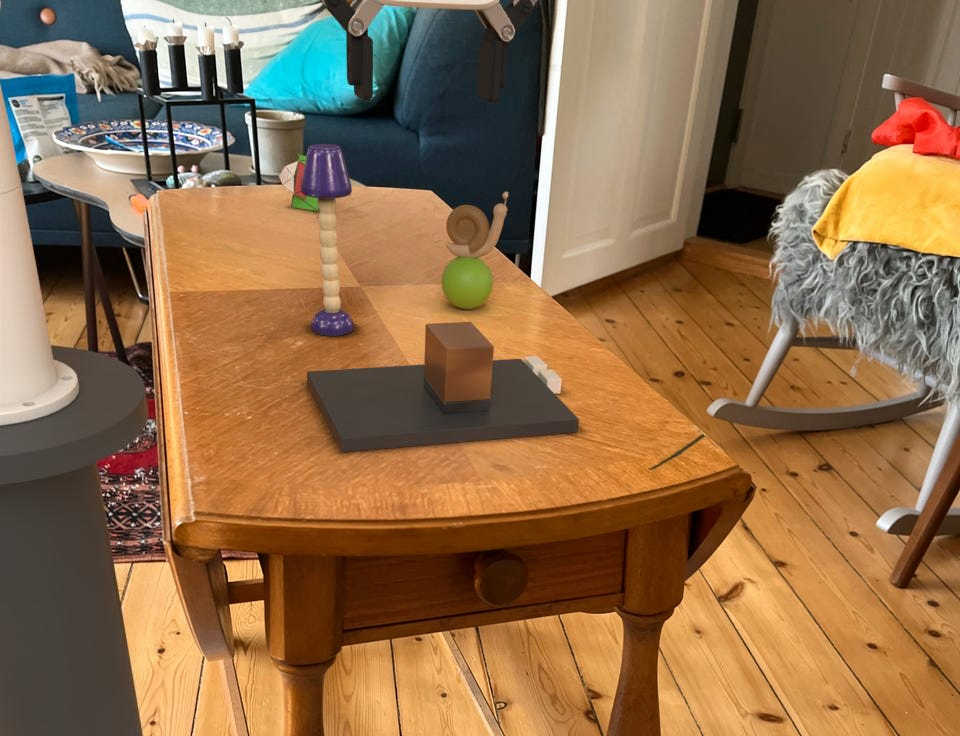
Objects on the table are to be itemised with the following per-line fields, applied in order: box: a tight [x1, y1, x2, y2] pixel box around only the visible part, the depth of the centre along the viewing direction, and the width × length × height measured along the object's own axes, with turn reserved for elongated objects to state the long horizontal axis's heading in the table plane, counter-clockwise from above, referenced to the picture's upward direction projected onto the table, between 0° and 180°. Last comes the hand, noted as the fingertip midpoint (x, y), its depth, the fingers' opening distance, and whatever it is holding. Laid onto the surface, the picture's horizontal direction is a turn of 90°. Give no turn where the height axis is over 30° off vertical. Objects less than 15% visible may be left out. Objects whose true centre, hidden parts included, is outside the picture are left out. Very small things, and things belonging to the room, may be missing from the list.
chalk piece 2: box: [538, 368, 563, 395], centre depth 93 cm, size 1×2×1 cm
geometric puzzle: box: [278, 153, 320, 213], centre depth 140 cm, size 7×7×8 cm
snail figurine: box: [441, 191, 509, 310], centre depth 107 cm, size 5×6×12 cm
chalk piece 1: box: [523, 355, 548, 376], centre depth 96 cm, size 1×2×1 cm
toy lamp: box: [301, 143, 355, 337], centre depth 98 cm, size 5×5×17 cm
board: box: [306, 358, 580, 453], centre depth 88 cm, size 20×14×1 cm
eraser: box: [423, 321, 495, 414], centre depth 86 cm, size 4×6×6 cm, turn 18°
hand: (426, 98), depth 77 cm, fingers open, 9 cm apart
